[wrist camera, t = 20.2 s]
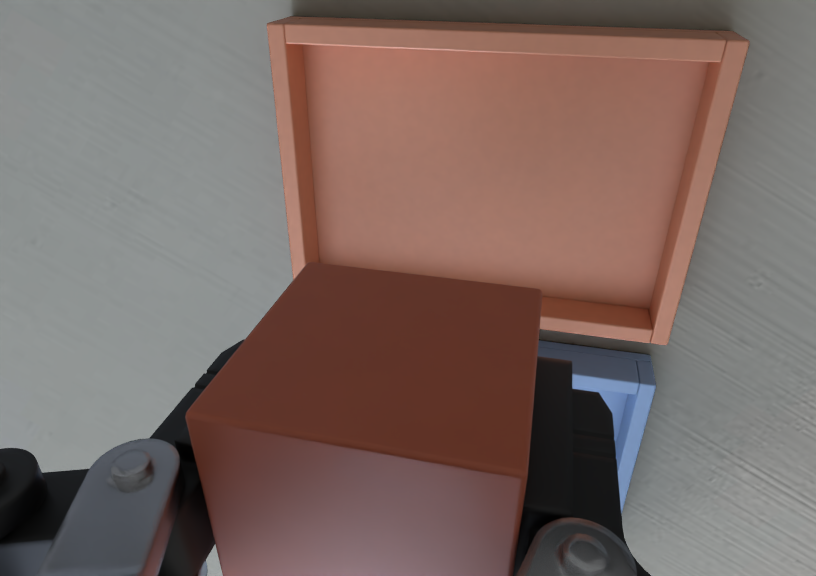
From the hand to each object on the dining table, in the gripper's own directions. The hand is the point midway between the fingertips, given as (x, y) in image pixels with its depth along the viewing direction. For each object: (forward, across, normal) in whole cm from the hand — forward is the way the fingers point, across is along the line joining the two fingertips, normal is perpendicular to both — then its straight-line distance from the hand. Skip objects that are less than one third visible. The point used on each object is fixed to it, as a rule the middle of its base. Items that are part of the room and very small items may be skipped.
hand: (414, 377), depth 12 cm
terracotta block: (0, 0, 0) cm, 0 cm away
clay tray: (+12, 0, 0) cm, 12 cm away
